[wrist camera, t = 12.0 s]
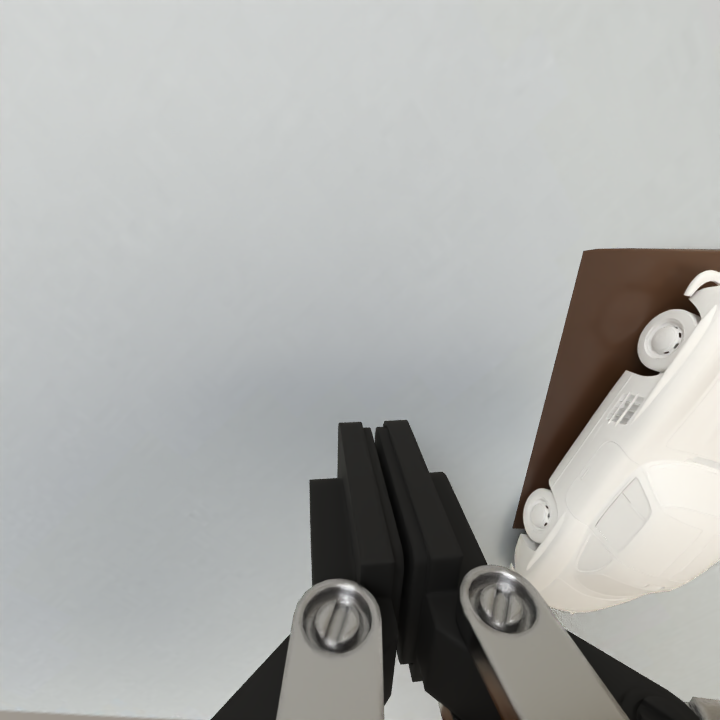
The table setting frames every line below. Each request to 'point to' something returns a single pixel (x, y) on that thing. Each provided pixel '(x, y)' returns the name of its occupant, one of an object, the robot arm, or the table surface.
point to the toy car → (637, 475)
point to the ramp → (606, 341)
